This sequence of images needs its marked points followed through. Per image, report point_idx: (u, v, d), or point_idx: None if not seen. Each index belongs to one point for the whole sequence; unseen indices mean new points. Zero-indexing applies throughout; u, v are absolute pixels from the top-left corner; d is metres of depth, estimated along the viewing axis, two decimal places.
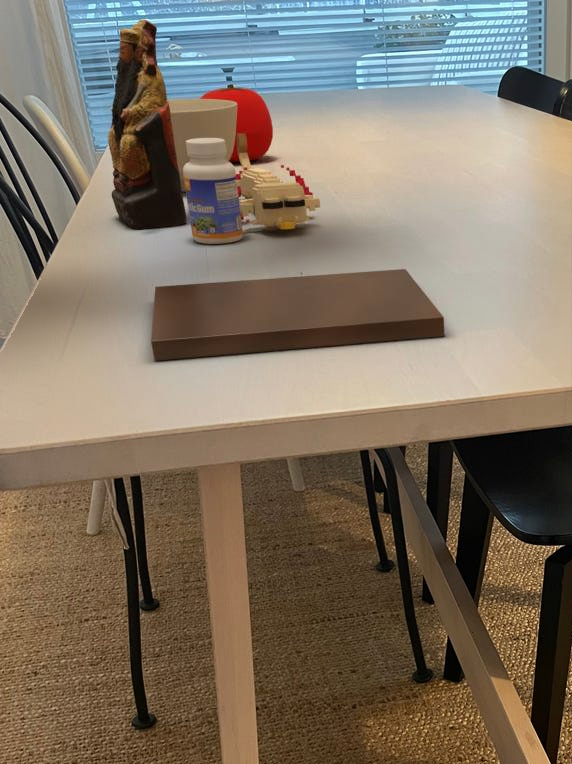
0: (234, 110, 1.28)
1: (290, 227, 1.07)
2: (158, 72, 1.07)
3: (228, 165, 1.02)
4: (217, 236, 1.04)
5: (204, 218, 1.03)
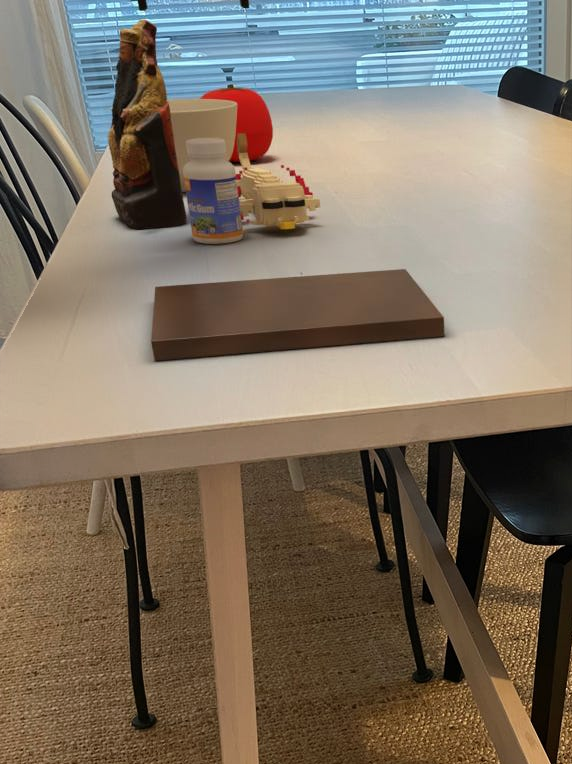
0: (234, 110, 1.28)
1: (290, 227, 1.07)
2: (158, 72, 1.07)
3: (228, 165, 1.02)
4: (217, 236, 1.04)
5: (204, 218, 1.03)
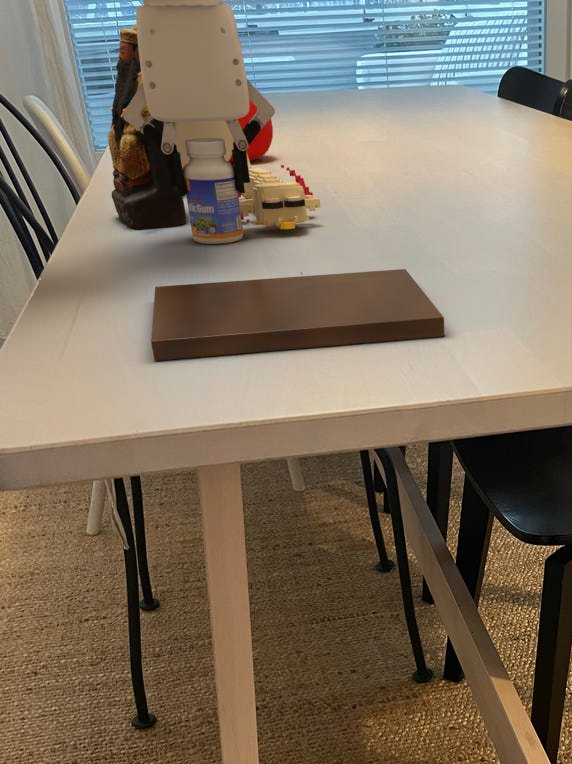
0: None
1: (290, 227, 1.07)
2: None
3: (228, 164, 1.02)
4: (217, 236, 1.04)
5: (204, 218, 1.03)
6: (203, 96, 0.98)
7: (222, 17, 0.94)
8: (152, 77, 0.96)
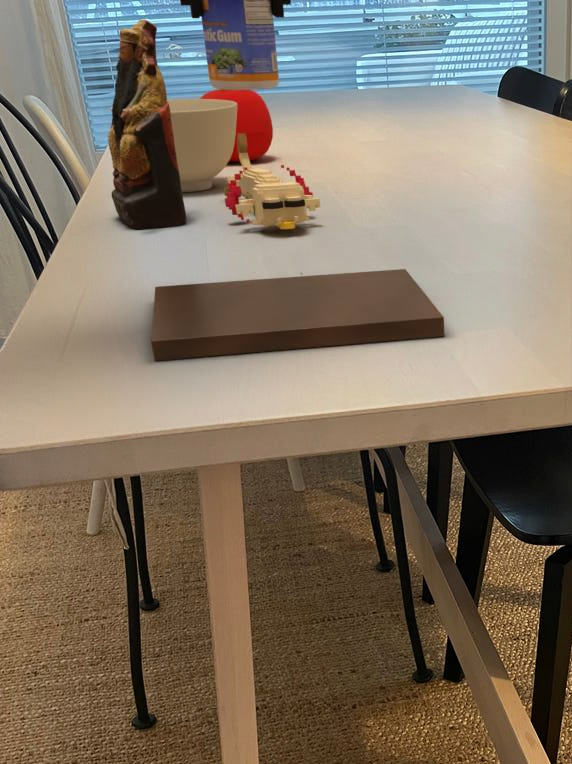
0: (234, 110, 1.28)
1: (290, 227, 1.07)
2: (158, 72, 1.07)
3: None
4: (245, 77, 0.75)
5: (228, 50, 0.74)
6: None
7: None
8: None
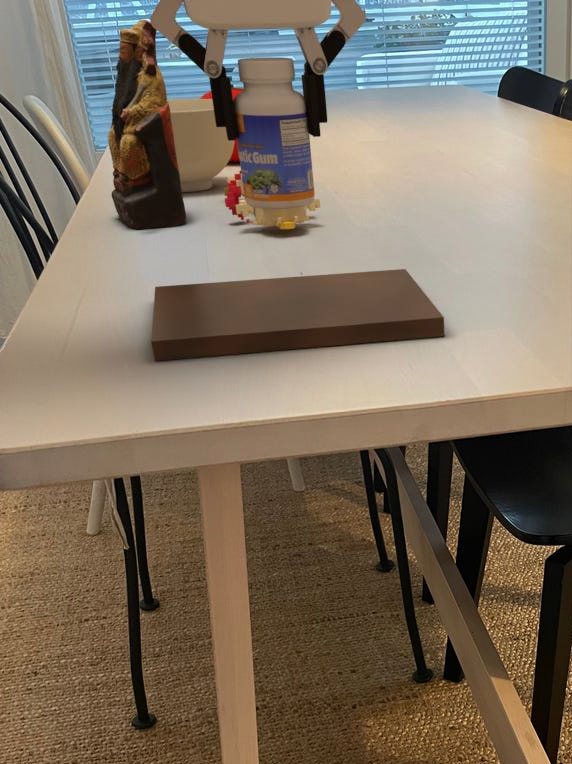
0: None
1: (290, 227, 1.07)
2: (158, 72, 1.07)
3: (298, 95, 0.72)
4: (280, 197, 0.74)
5: (264, 172, 0.73)
6: None
7: None
8: None
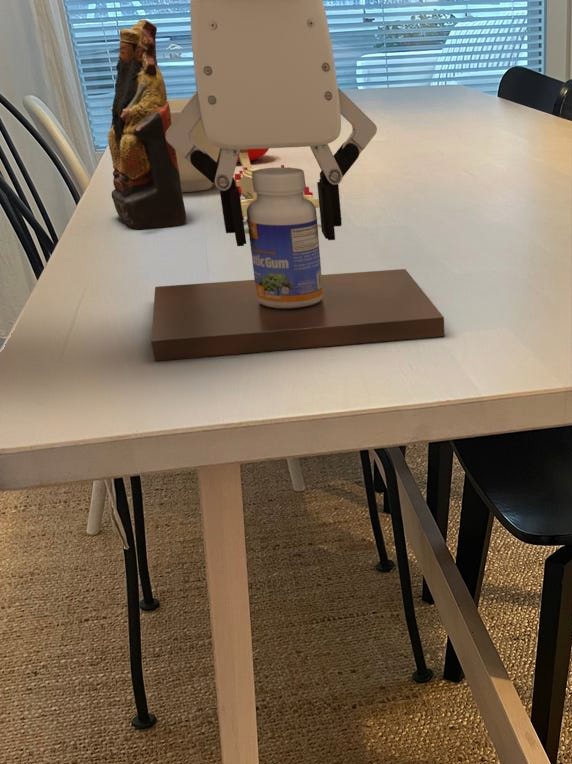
0: None
1: None
2: (158, 72, 1.07)
3: (308, 204, 0.76)
4: (291, 298, 0.78)
5: (275, 275, 0.77)
6: (280, 114, 0.71)
7: (310, 5, 0.68)
8: (212, 89, 0.69)
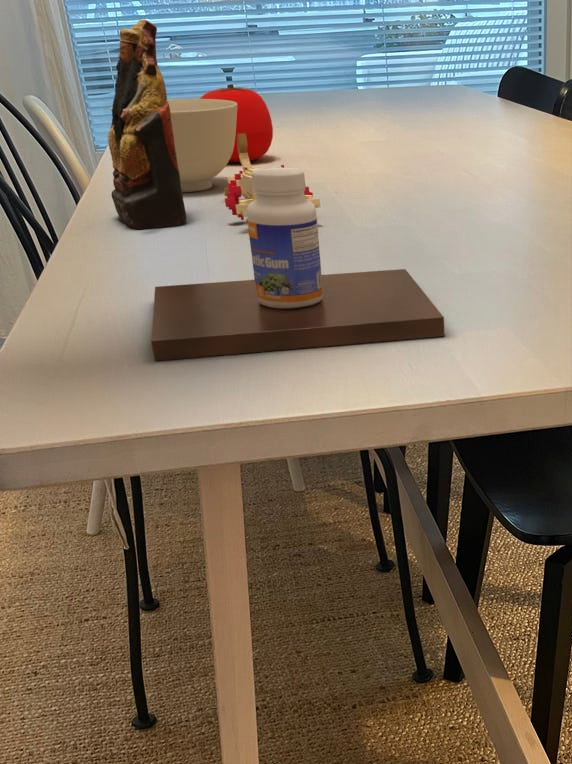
0: (234, 110, 1.28)
1: None
2: (158, 72, 1.07)
3: (308, 204, 0.76)
4: (291, 298, 0.78)
5: (275, 275, 0.77)
6: None
7: None
8: None
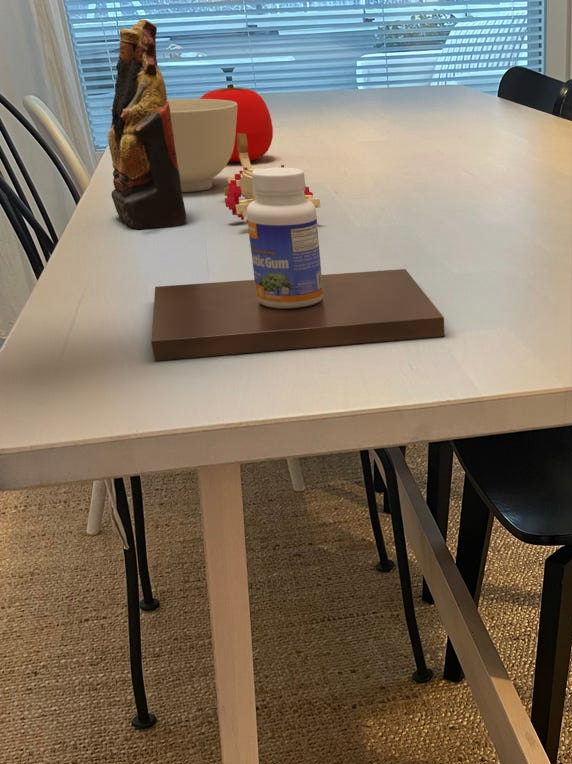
0: (234, 110, 1.28)
1: None
2: (158, 72, 1.07)
3: (308, 204, 0.76)
4: (291, 298, 0.78)
5: (275, 275, 0.77)
6: None
7: None
8: None
